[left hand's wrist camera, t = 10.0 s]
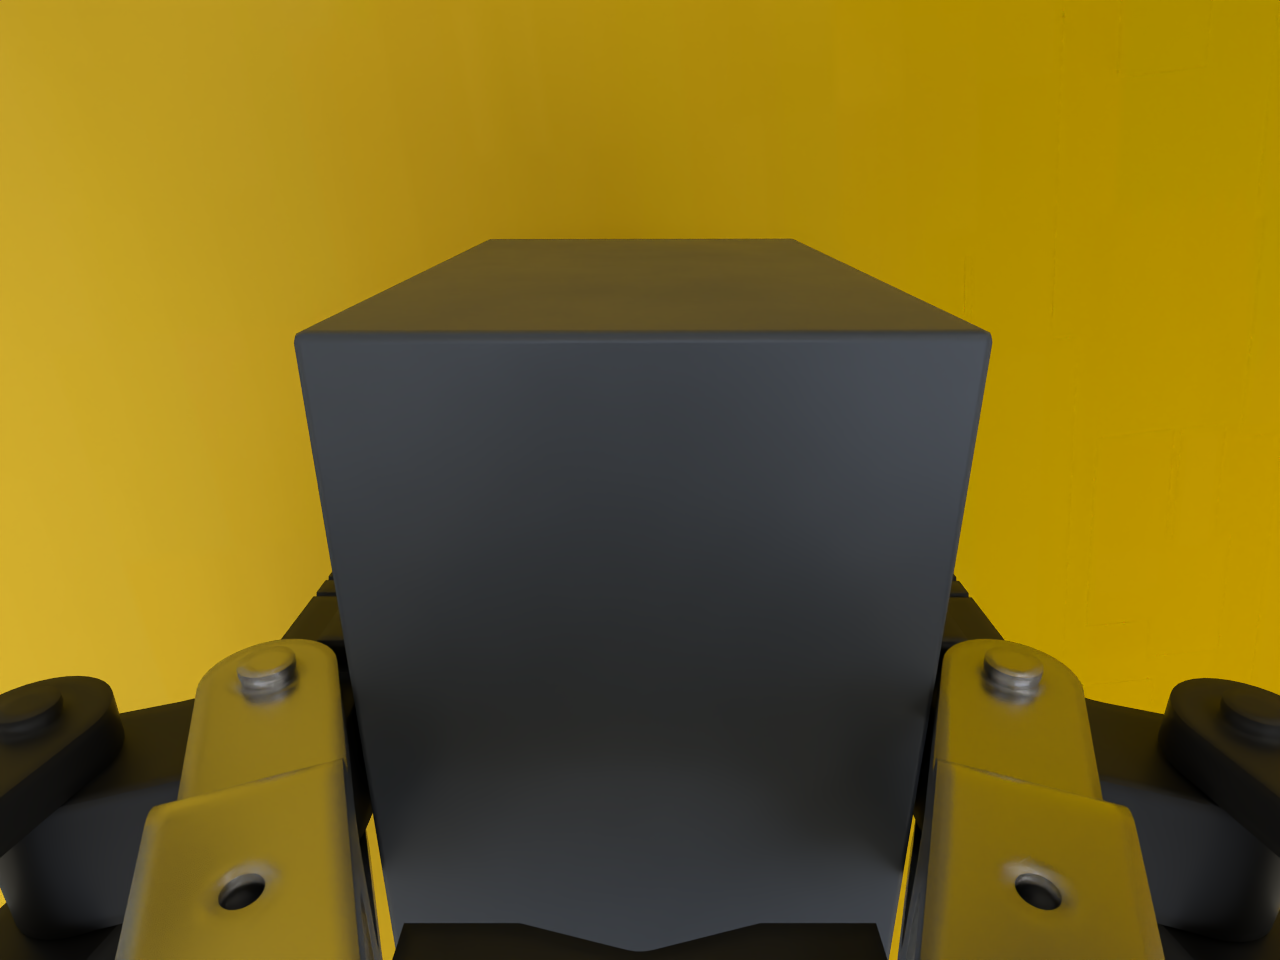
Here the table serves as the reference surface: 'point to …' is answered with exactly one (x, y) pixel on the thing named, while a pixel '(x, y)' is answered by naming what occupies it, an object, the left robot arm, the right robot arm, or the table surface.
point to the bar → (643, 578)
